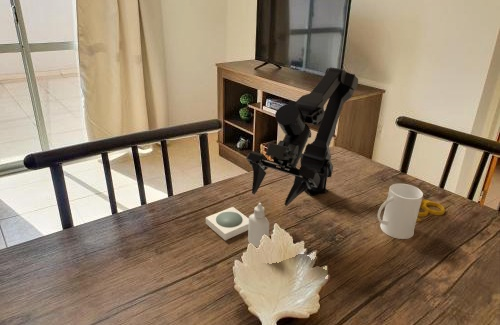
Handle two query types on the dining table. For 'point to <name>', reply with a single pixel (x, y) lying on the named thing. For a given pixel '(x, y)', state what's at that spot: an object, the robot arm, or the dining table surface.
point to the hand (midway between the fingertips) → (268, 199)
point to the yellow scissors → (424, 206)
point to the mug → (400, 211)
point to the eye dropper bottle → (257, 225)
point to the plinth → (228, 223)
